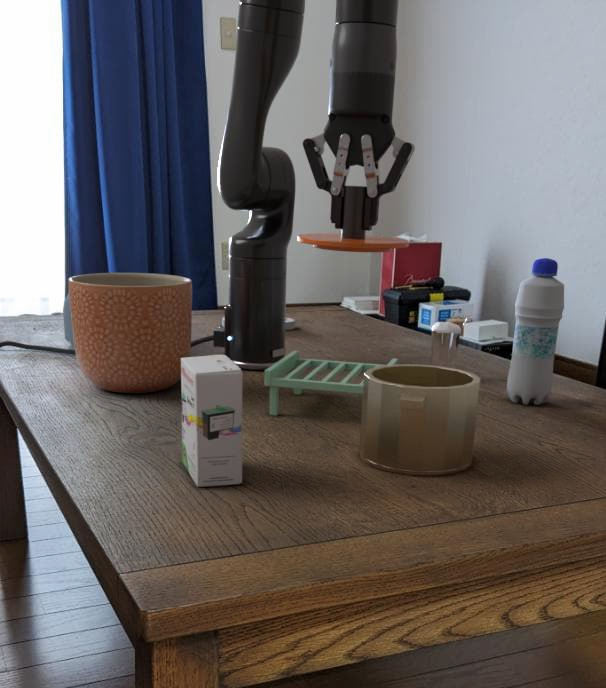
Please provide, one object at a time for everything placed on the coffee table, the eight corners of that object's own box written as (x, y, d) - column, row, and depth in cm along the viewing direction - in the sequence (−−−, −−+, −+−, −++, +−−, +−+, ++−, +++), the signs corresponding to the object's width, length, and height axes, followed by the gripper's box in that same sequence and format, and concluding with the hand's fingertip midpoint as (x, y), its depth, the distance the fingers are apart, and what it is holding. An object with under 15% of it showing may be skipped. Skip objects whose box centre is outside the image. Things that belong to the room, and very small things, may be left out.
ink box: (180, 463, 98) (178, 354, 93) (225, 460, 99) (225, 353, 95) (196, 488, 90) (194, 371, 86) (243, 485, 92) (244, 370, 87)
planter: (158, 405, 121) (154, 289, 115) (51, 391, 126) (42, 280, 121) (212, 381, 136) (212, 277, 130) (115, 370, 141) (110, 270, 136)
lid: (284, 248, 107) (286, 183, 104) (311, 240, 119) (314, 182, 116) (399, 256, 104) (404, 190, 101) (415, 247, 116) (420, 188, 113)
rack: (263, 415, 118) (264, 370, 116) (292, 391, 132) (293, 350, 129) (377, 426, 115) (380, 380, 112) (395, 400, 128) (398, 358, 126)
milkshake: (460, 384, 140) (467, 319, 136) (426, 382, 141) (431, 317, 137) (461, 378, 144) (468, 315, 140) (428, 376, 145) (433, 313, 141)
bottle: (552, 399, 132) (572, 257, 125) (548, 409, 126) (569, 261, 119) (506, 394, 134) (523, 255, 127) (500, 404, 128) (518, 258, 121)
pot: (345, 476, 95) (350, 387, 92) (374, 433, 112) (379, 356, 108) (465, 488, 93) (474, 398, 89) (476, 443, 109) (484, 365, 105)
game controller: (294, 325, 188) (294, 316, 188) (296, 335, 177) (296, 326, 176) (223, 323, 188) (223, 314, 187) (219, 334, 176) (219, 324, 175)
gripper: (427, 76, 106) (414, 231, 112) (311, 73, 109) (305, 224, 115) (419, 70, 99) (405, 234, 106) (296, 66, 102) (290, 227, 109)
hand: (353, 228), depth 110 cm, fingers closed on lid, 3 cm apart
